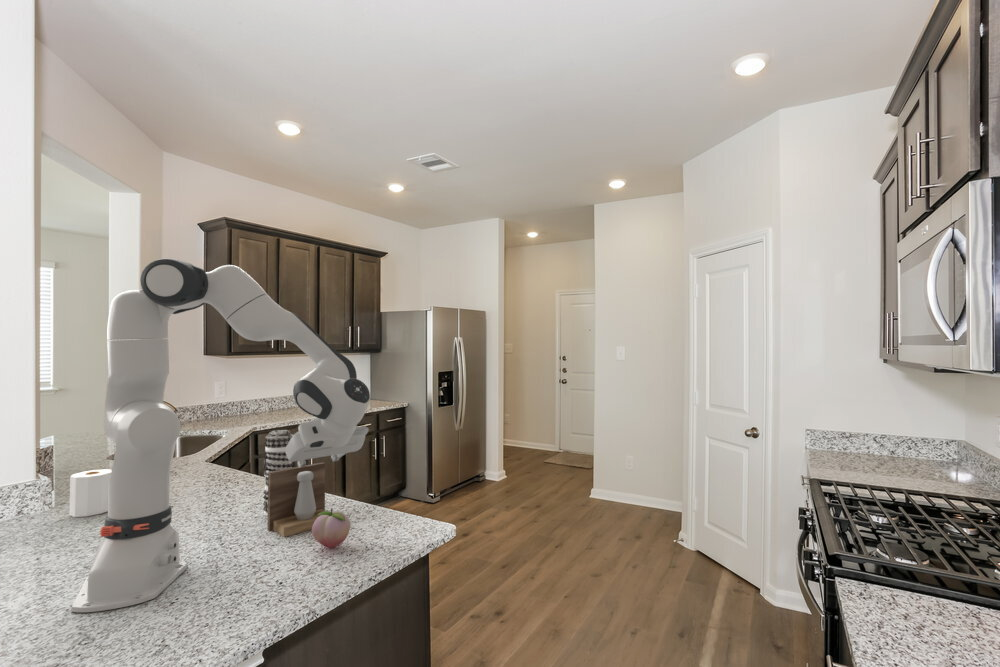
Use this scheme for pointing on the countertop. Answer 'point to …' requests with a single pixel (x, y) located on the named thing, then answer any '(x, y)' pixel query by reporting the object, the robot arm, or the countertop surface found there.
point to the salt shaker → (305, 497)
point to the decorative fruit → (331, 528)
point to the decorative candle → (275, 457)
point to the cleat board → (293, 499)
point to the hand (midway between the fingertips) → (317, 462)
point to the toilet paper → (89, 492)
